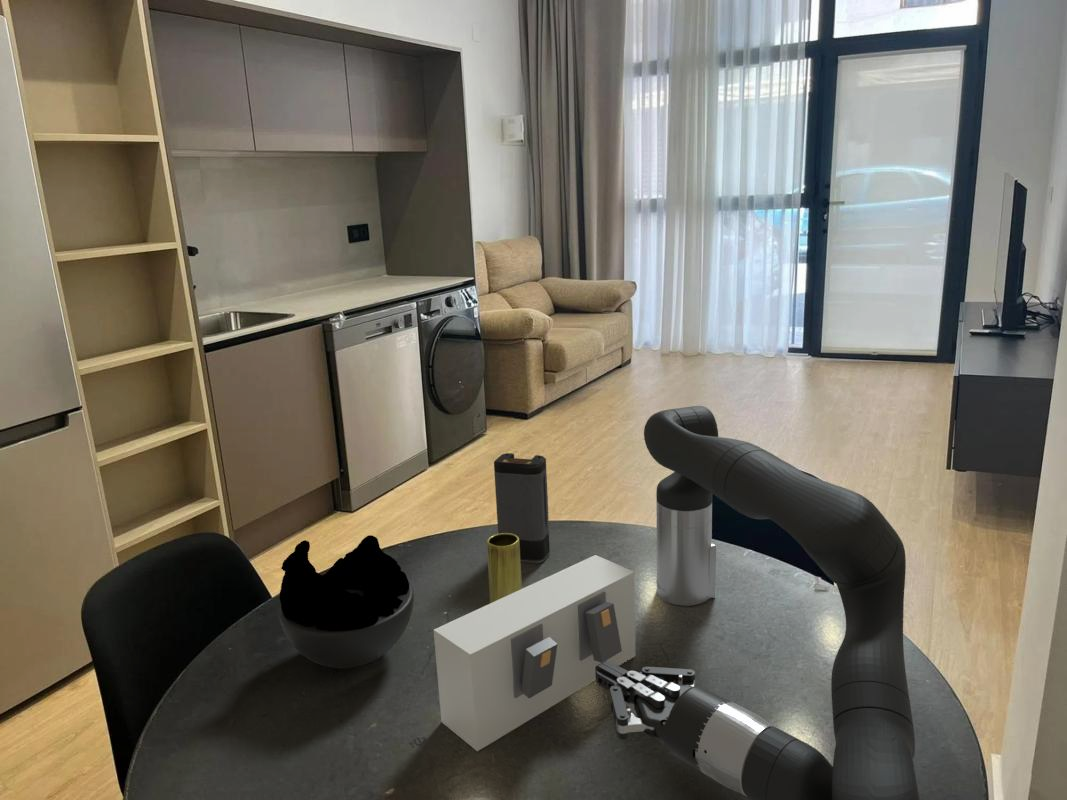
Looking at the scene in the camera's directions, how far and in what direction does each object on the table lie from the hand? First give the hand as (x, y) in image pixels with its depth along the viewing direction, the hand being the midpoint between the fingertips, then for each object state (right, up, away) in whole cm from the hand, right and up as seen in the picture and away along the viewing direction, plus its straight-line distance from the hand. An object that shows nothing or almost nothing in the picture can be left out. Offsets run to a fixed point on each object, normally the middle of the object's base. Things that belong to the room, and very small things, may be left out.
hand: (599, 670), depth 92 cm
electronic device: (-9, +1, +61) cm, 62 cm away
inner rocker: (+3, -4, +17) cm, 18 cm away
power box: (-6, -9, +20) cm, 23 cm away
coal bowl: (-36, -8, +30) cm, 47 cm away
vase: (-12, -5, +39) cm, 41 cm away
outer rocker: (-7, -6, +11) cm, 15 cm away
